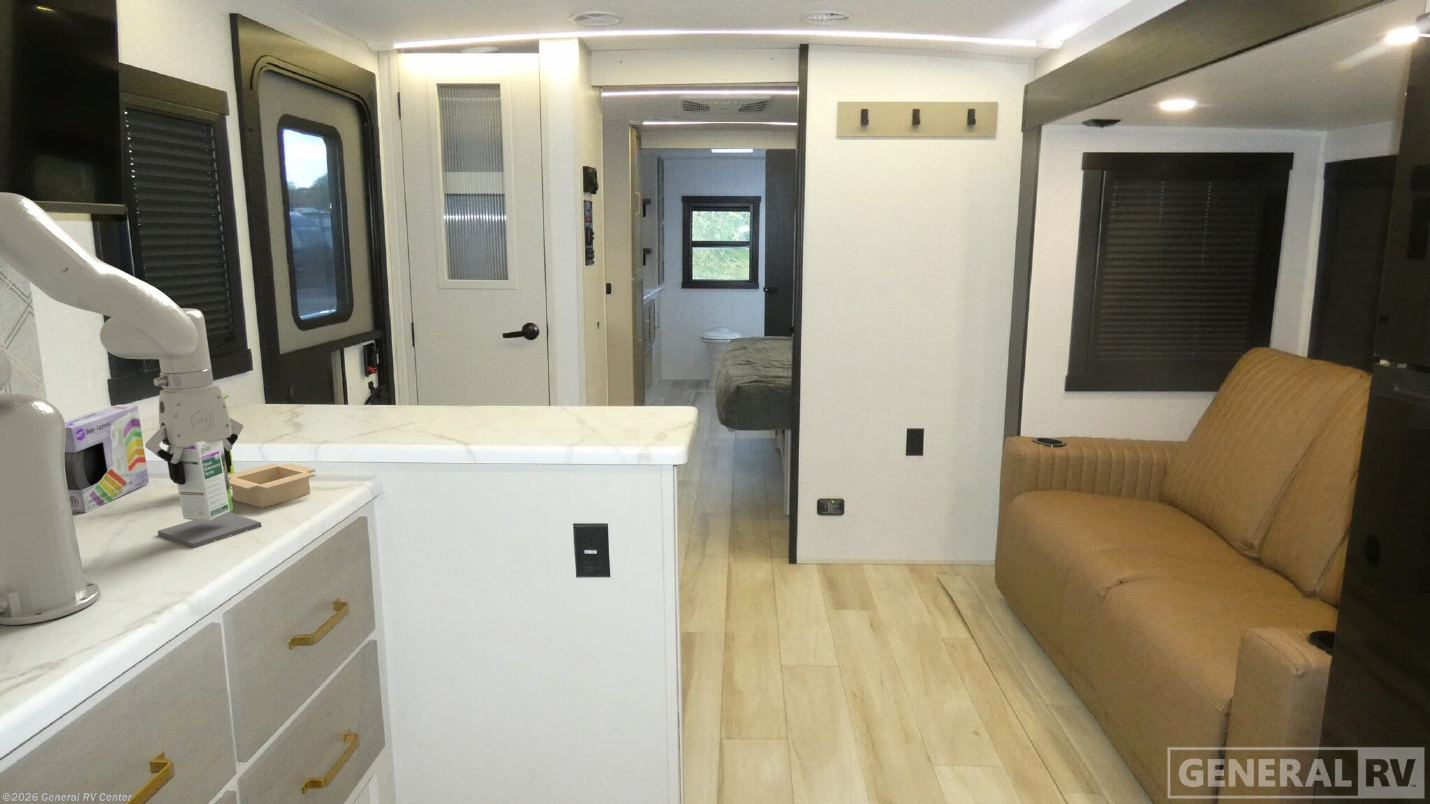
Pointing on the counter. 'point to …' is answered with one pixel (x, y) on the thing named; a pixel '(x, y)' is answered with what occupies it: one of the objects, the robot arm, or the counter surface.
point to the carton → (270, 484)
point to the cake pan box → (104, 457)
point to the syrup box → (205, 482)
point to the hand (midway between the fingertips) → (202, 476)
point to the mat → (208, 529)
